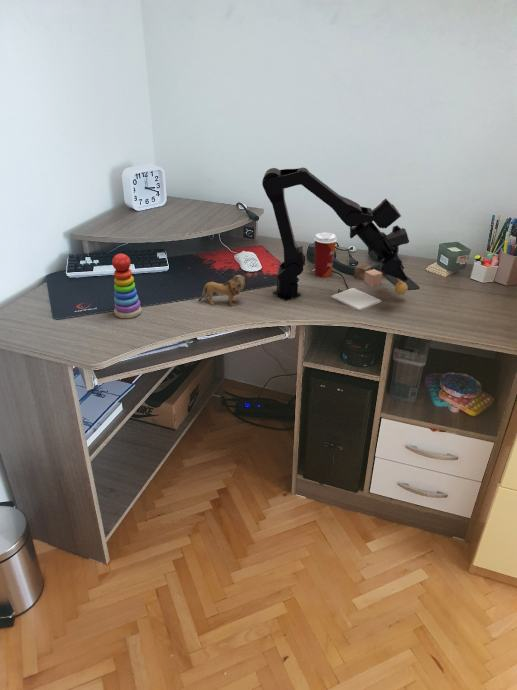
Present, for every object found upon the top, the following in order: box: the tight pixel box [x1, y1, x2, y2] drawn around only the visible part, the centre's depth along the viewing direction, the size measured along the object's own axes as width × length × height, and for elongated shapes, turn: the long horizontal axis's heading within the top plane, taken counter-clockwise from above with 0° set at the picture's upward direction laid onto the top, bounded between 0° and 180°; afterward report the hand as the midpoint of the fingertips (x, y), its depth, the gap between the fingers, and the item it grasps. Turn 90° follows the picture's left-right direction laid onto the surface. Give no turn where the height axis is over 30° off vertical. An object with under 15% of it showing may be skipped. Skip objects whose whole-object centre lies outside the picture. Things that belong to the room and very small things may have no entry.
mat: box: [330, 287, 382, 311], centre depth 172 cm, size 12×10×1 cm
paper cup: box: [313, 231, 338, 279], centre depth 186 cm, size 8×8×14 cm
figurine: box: [393, 278, 408, 295], centre depth 168 cm, size 8×6×12 cm
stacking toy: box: [111, 253, 142, 319], centre depth 158 cm, size 8×8×19 cm
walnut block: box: [353, 263, 372, 281], centre depth 187 cm, size 4×4×4 cm
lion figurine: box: [197, 274, 246, 306], centre depth 168 cm, size 15×5×9 cm, turn 93°
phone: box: [381, 272, 420, 291], centre depth 185 cm, size 7×1×15 cm
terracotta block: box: [363, 268, 383, 287], centre depth 183 cm, size 4×4×4 cm
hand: (404, 274), depth 168 cm, fingers closed on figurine, 8 cm apart
